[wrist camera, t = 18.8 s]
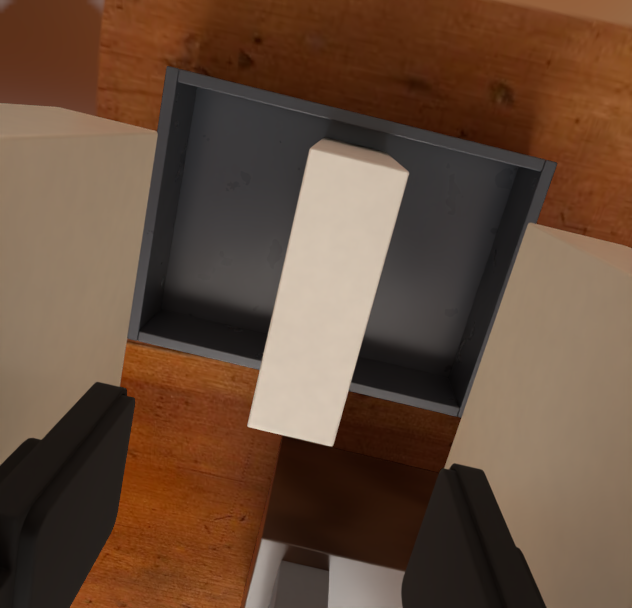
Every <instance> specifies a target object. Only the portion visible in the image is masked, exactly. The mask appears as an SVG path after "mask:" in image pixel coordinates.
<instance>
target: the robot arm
mask: <svg viewBox="0 0 632 608" xmlns="http://www.w3.org/2000/svg"><path fill="white" fill-rule="evenodd" d="M134 407H135V398H133V397H129V396H127V390H126V388H123V387H119V386H114V385H110V384H105V383H101V382H96V383H94V384H93V385H92V386H91V388H90V389H89V390H88V391H87V392H86V393H85V394H84V395H83V396H82V397H81V398H80V399H79V400H78V401H77V402H76V404H75V405H74V406H73V407H72V408H71V409H70V410H69V411H68V412H67V413H66V414H65V415H64V416H63V417H62V418H61V419H60V421H59V422H58V423H57V424H56V425H55V426H54V427H53V428H52V429H51V430H50V431H49V432H48V433H47V434H46V435H45V437H44V438H43V439H42V440H40V439H36V438H28V439H27V440H25V441H24V442H23V443H22V444H21V445H20V446H19V447H18V448H17V449H16V450H15V451H14V452H13V453H12V454H11V455H10V456H9V457H8V458H7V459H6V460H5V461H4V462H3V463H2V464H1V465H0V608H70V606H71V604H72V602H73V600H74V599H75V597H76V595H77V593H78V591H79V590H80V588H81V586H82V584H83V582H84V581H85V579H86V577H87V575H88V573H89V572H90V570H91V568H92V566H93V564H94V563H95V561H96V559H97V557H98V555H99V554H100V552H101V550H102V548H103V546H104V545H105V543H106V541H107V539H108V537H109V536H110V534H111V532H112V529H113V527H114V524H115V521H116V517H117V512H118V506H119V500H120V494H121V488H122V481H123V475H124V469H125V463H126V457H127V450H128V444H129V438H130V432H131V426H132V419H133V413H134ZM401 598H402V606H403V608H547V607H546V605H545V603H544V600H543V598H542V596H541V593H540V591H539V589H538V587H537V584H536V582H535V580H534V577H533V575H532V573H531V571H530V568H529V566H528V564H527V561H526V559H525V557H524V554H523V553H522V551H521V550H520V548H518V547H516V545H515V543H514V541H513V538H512V536H511V534H510V531H509V529H508V527H507V524H506V522H505V520H504V517H503V515H502V513H501V510H500V508H499V505H498V503H497V501H496V498H495V496H494V494H493V491H492V489H491V487H490V484H489V482H488V480H487V477H486V475H485V473H484V471H483V470H482V469H478V468H473V467H469V466H465V465H460V464H456V463H454V464H452V465H451V467H450V468H449V469H445V468H442V469H441V470H440V472H439V474H438V477H437V480H436V483H435V486H434V489H433V492H432V495H431V498H430V501H429V504H428V506H427V509H426V512H425V515H424V518H423V521H422V524H421V527H420V530H419V533H418V536H417V539H416V542H415V545H414V547H413V550H412V553H411V556H410V559H409V562H408V565H407V568H406V571H405V574H404V577H403V581H402V588H401Z"/></svg>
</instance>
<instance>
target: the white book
mask: <svg viewBox="0 0 632 608" xmlns="http://www.w3.org/2000/svg"><path fill="white" fill-rule="evenodd" d="M408 176H409V172H408V171H407V170H406V169H405V168H404V167H403V166H401V165H400V164H399V163H398V162H397V161H396V160H394V159H393V158H392V157H391V156H390V155H389V154H387V153H386V152H385V151H381V150H377V149H373V148H369V147H365V146H361V145H357V144H353V143H349V142H345V141H340V140H336V139H332V138H328V137H324V138H323V139H321V140H320V141H319V142H318V143H316V144H315V145H314V146H312V147H311V148H310V149H309V153H308V158H307V162H306V167H305V171H304V176H303V180H302V185H301V189H300V193H299V198H298V202H297V207H296V211H295V216H294V220H293V225H292V229H291V233H290V238H289V242H288V247H287V251H286V256H285V260H284V265H283V269H282V273H281V278H280V282H279V287H278V291H277V296H276V300H275V305H274V309H273V313H272V318H271V322H270V327H269V331H268V336H267V340H266V344H265V349H264V353H263V358H262V362H261V367H260V371H259V376H258V380H257V384H256V389H255V393H254V398H253V402H252V407H251V411H250V416H249V420H248V424H247V425H248V427H251V428H255V429H259V430H263V431H267V432H272V433H276V434H280V435H284V436H289V437H293V438H297V439H301V440H306V441H310V442H314V443H318V444H323V445H327V446H333V445H334V441H335V438H336V434H337V431H338V427H339V424H340V420H341V416H342V413H343V409H344V406H345V402H346V398H347V395H348V391H349V388H350V384H351V380H352V377H353V373H354V370H355V366H356V362H357V359H358V355H359V352H360V348H361V345H362V341H363V337H364V334H365V330H366V327H367V323H368V319H369V316H370V312H371V309H372V305H373V301H374V298H375V294H376V291H377V287H378V284H379V280H380V276H381V273H382V269H383V266H384V262H385V258H386V255H387V251H388V248H389V244H390V240H391V237H392V233H393V230H394V226H395V223H396V219H397V215H398V212H399V208H400V205H401V201H402V197H403V194H404V190H405V187H406V183H407V179H408Z"/></svg>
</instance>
